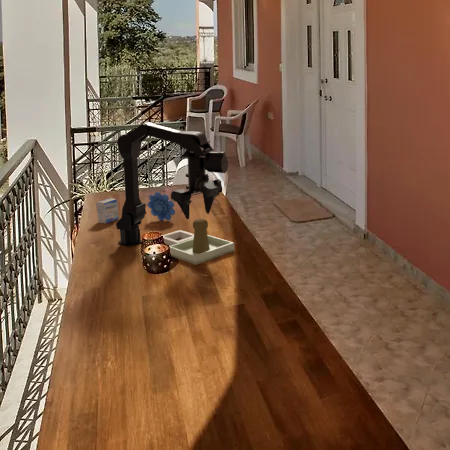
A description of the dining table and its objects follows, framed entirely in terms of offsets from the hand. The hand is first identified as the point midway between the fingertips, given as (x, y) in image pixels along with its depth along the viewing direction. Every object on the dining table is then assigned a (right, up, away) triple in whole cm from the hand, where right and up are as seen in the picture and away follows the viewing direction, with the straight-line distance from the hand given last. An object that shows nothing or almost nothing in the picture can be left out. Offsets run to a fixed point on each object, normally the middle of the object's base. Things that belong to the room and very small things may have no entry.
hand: (197, 216), depth 195 cm
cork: (+1, -12, +2) cm, 12 cm away
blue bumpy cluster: (-17, -2, +40) cm, 43 cm away
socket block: (-7, -9, +13) cm, 18 cm away
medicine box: (-39, -1, +42) cm, 57 cm away
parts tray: (+1, -13, +3) cm, 13 cm away
